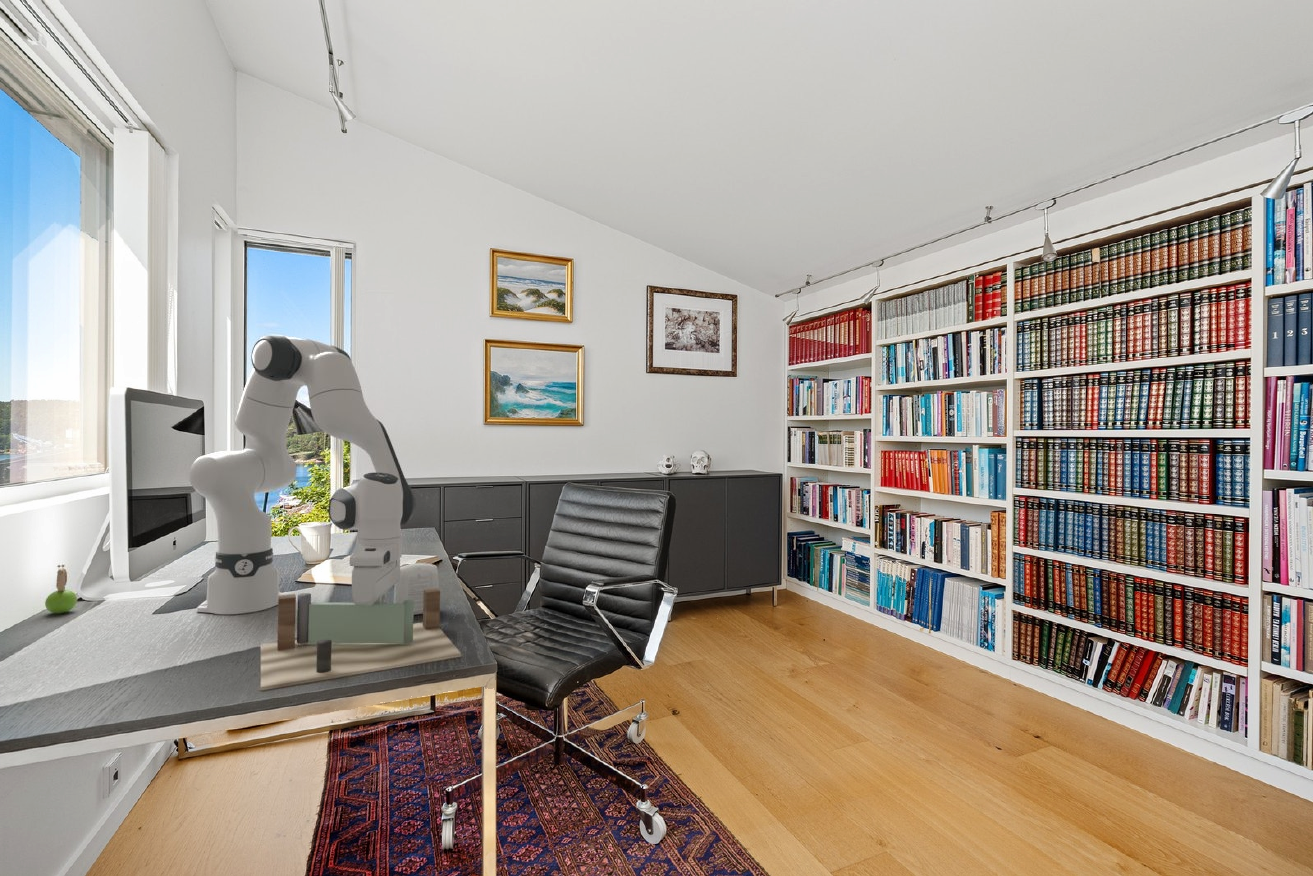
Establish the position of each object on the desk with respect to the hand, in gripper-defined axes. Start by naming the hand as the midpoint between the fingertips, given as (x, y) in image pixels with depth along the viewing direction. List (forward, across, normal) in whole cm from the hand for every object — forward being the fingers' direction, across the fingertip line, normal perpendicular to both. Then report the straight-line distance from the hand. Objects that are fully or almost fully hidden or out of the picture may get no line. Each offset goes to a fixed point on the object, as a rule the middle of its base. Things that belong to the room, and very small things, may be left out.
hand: (377, 614), depth 133 cm
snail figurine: (+7, -22, -78) cm, 81 cm away
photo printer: (+6, -21, +2) cm, 22 cm away
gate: (+5, +3, -4) cm, 7 cm away
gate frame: (+6, +5, -2) cm, 8 cm away
